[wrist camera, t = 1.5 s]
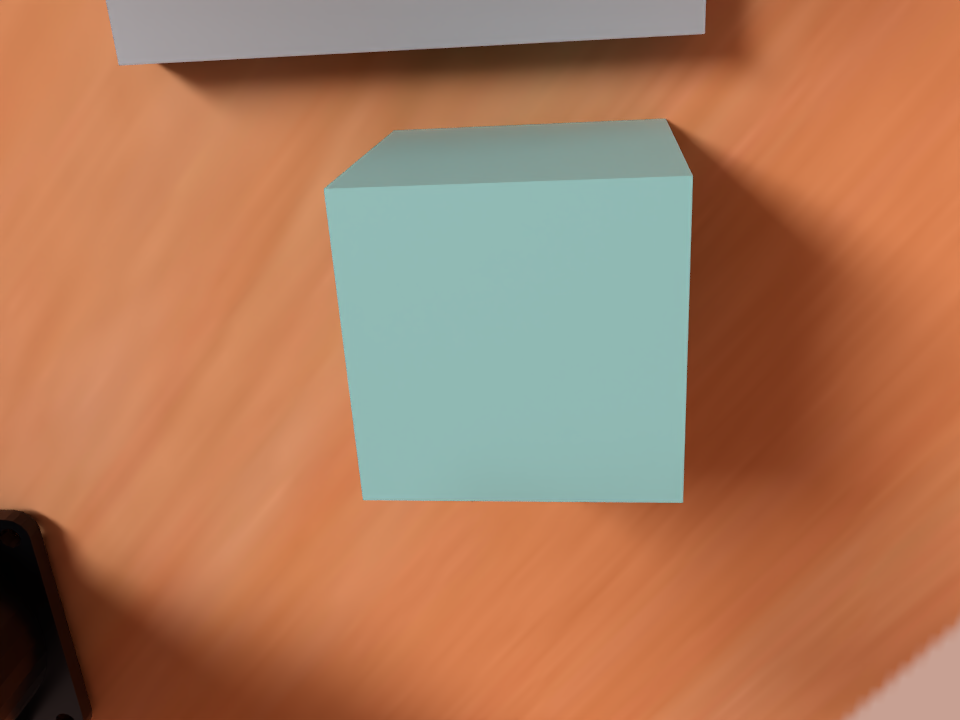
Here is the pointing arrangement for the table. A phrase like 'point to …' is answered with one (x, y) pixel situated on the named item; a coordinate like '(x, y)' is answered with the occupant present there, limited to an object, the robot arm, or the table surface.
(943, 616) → the table surface
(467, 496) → the teal cube
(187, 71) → the table surface
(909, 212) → the table surface
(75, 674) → the robot arm
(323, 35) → the plate
